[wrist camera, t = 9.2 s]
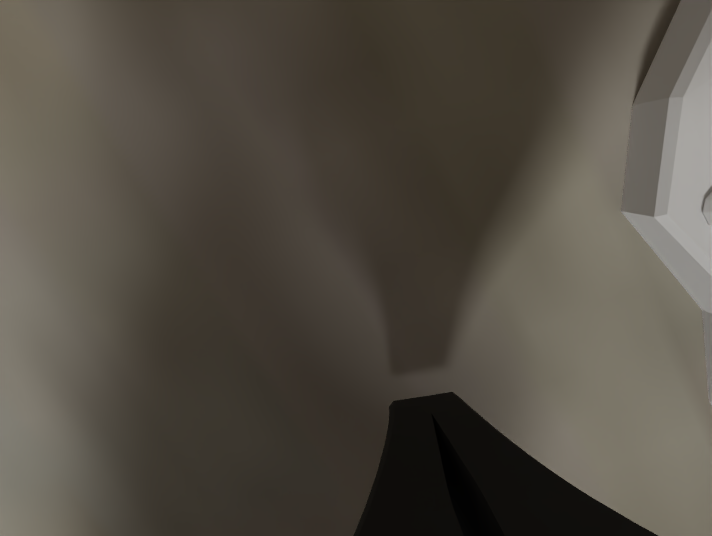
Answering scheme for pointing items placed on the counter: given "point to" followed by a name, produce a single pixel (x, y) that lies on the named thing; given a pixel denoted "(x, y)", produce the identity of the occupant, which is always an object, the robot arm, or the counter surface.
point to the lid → (677, 158)
